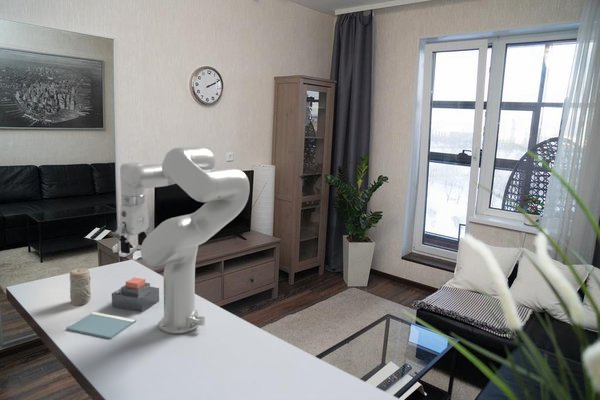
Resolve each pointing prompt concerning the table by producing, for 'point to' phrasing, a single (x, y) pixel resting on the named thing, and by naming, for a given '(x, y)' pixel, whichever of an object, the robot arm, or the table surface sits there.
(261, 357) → the table surface
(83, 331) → the mat
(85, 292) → the carving
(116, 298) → the breaker box
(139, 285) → the button
